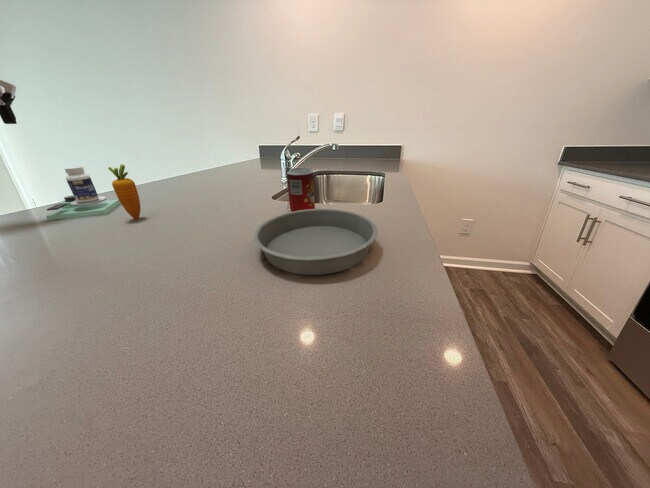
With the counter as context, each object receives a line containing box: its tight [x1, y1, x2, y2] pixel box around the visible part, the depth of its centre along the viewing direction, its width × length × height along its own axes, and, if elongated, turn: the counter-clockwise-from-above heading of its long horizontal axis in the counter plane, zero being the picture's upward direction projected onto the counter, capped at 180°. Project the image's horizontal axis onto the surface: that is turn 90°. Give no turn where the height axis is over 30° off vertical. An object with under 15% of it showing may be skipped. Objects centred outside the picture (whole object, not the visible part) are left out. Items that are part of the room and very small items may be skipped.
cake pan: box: [252, 208, 379, 276], centre depth 53 cm, size 25×25×4 cm
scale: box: [45, 198, 121, 221], centre depth 80 cm, size 14×12×3 cm
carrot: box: [107, 164, 141, 221], centre depth 69 cm, size 5×5×15 cm
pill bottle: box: [64, 165, 99, 202], centre depth 76 cm, size 5×5×10 cm
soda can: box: [286, 167, 316, 212], centre depth 71 cm, size 7×7×12 cm
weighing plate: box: [71, 195, 107, 206], centre depth 79 cm, size 8×8×1 cm
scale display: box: [46, 203, 67, 211], centre depth 75 cm, size 2×5×1 cm, turn 17°
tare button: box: [63, 195, 76, 202], centre depth 81 cm, size 3×3×2 cm
